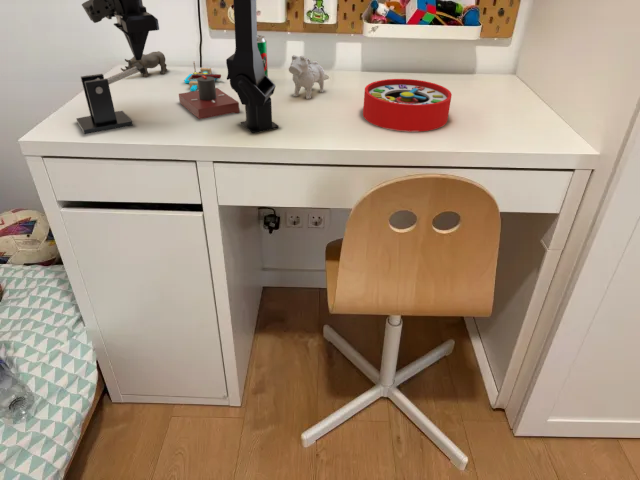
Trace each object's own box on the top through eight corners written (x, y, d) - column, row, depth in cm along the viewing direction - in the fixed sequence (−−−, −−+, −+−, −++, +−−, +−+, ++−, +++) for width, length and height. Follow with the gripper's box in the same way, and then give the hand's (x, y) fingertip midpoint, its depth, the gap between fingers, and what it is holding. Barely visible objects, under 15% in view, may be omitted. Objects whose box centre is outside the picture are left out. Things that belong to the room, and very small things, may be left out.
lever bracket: (123, 115, 114) (113, 70, 108) (133, 126, 108) (123, 79, 102) (77, 123, 109) (64, 76, 103) (85, 135, 103) (72, 86, 98)
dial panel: (239, 112, 116) (238, 101, 115) (199, 120, 112) (197, 108, 110) (217, 97, 125) (216, 86, 124) (180, 103, 121) (178, 93, 119)
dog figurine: (284, 100, 125) (282, 56, 119) (309, 87, 134) (309, 46, 128) (301, 103, 123) (301, 59, 117) (326, 90, 132) (327, 48, 126)
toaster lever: (141, 69, 109) (136, 59, 108) (147, 75, 106) (142, 64, 104) (90, 91, 106) (84, 80, 104) (95, 97, 102) (89, 87, 101)
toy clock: (349, 95, 110) (385, 74, 125) (348, 120, 114) (383, 97, 128) (434, 111, 102) (463, 87, 116) (430, 138, 105) (458, 111, 120)
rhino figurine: (119, 77, 138) (115, 55, 135) (165, 69, 146) (162, 48, 142) (125, 81, 136) (120, 58, 132) (171, 72, 143) (168, 51, 140)
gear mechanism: (227, 72, 145) (195, 71, 145) (225, 53, 142) (193, 52, 142) (213, 93, 128) (177, 92, 128) (211, 72, 125) (174, 71, 125)
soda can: (269, 80, 139) (267, 35, 132) (266, 85, 135) (264, 39, 128) (252, 79, 139) (249, 34, 132) (248, 84, 135) (245, 38, 128)
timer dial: (219, 98, 117) (217, 78, 114) (203, 101, 115) (200, 80, 112) (212, 94, 120) (210, 74, 117) (196, 96, 118) (194, 76, 115)
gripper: (70, -25, 100) (89, 54, 109) (90, -14, 87) (110, 75, 96) (126, -28, 105) (140, 49, 114) (152, -17, 92) (166, 68, 101)
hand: (138, 59), depth 106 cm, fingers closed
